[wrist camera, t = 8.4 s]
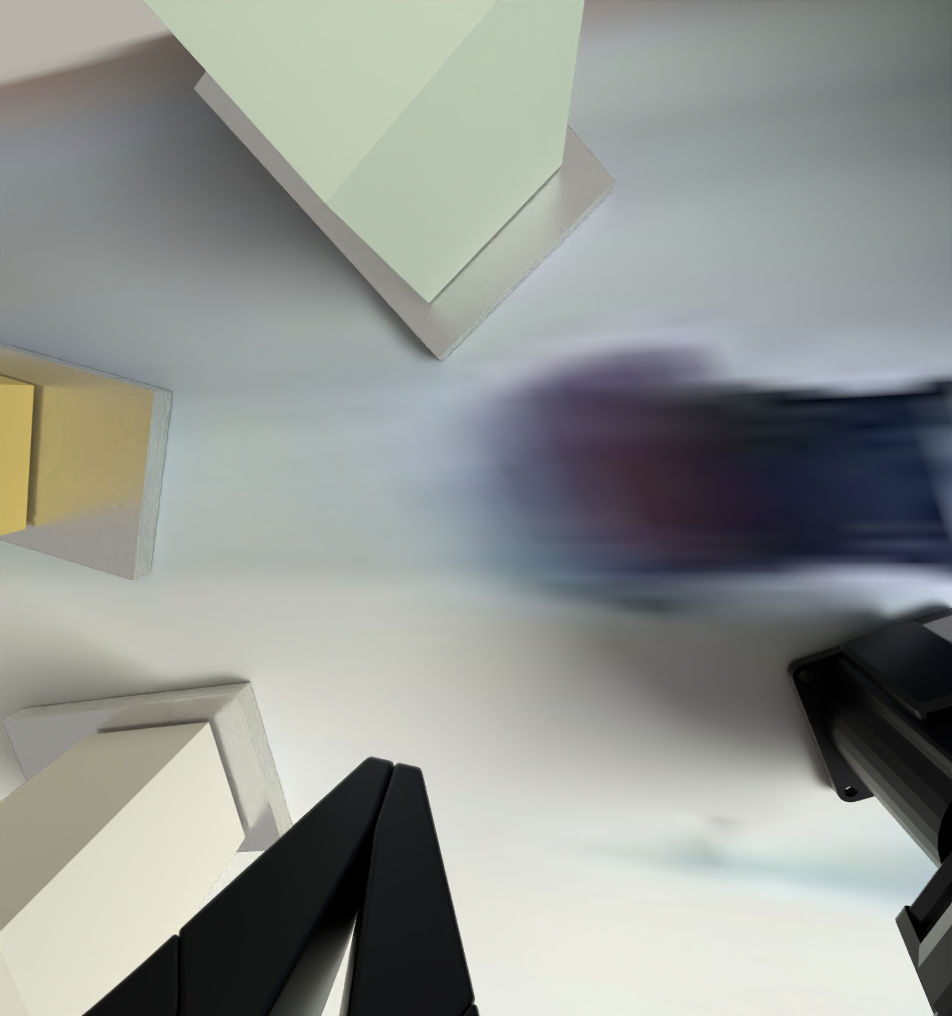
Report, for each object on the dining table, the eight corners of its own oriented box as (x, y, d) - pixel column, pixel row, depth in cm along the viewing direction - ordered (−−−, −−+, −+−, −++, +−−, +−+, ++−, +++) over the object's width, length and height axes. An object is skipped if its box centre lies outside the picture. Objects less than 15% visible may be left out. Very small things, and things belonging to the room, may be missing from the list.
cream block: (208, 721, 22) (-6, 937, 13) (245, 837, 23) (70, 1105, 14) (89, 734, 23) (-188, 944, 14) (130, 845, 24) (-103, 1103, 15)
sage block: (561, 164, 16) (601, -123, 7) (428, 303, 17) (324, 202, 8) (432, 11, 15) (307, -500, 7) (305, 166, 17) (60, -91, 8)
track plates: (793, 663, 20) (806, 677, 19) (109, 892, 26) (93, 911, 25) (467, -174, 15) (463, -213, 14) (-262, 349, 22) (-298, 346, 21)
